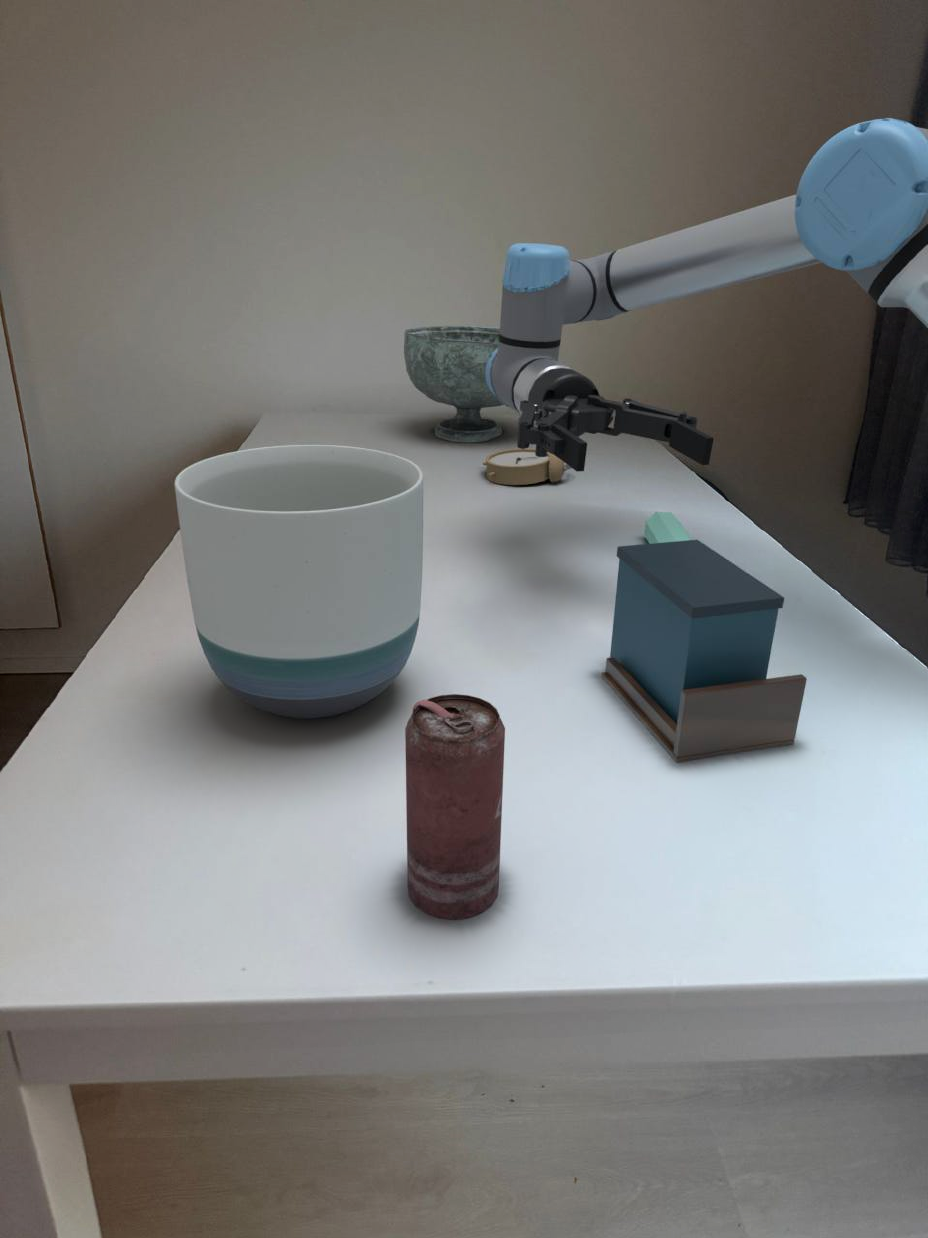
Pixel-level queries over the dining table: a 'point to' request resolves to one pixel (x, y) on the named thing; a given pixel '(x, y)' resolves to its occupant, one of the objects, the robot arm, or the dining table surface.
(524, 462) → the alarm clock
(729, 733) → the wooden drawer
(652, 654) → the storage container
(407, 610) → the planter
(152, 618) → the dining table surface
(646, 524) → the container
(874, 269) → the robot arm
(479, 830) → the can
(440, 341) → the decorative bowl
